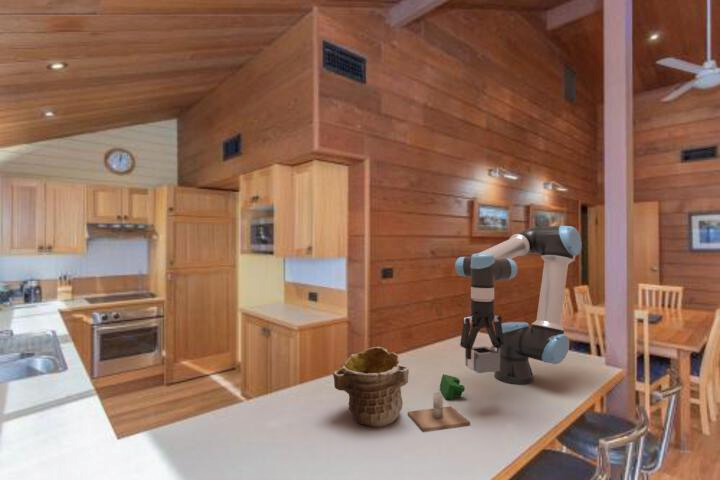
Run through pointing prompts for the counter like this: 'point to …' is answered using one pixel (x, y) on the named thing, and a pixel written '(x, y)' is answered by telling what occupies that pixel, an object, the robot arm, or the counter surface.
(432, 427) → the post board
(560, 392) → the counter surface
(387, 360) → the ceramic vessel
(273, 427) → the counter surface
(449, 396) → the clamp
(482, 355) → the collar
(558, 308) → the robot arm
